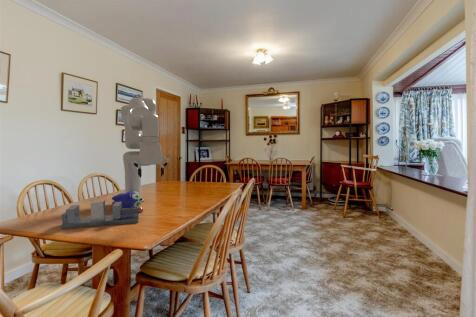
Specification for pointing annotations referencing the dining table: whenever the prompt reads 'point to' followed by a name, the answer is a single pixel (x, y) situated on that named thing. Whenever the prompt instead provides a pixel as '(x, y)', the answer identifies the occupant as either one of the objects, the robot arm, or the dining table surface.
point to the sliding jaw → (124, 210)
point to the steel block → (97, 210)
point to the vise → (75, 221)
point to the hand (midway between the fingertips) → (151, 176)
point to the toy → (128, 199)
